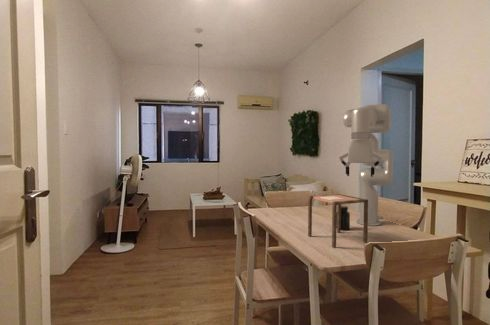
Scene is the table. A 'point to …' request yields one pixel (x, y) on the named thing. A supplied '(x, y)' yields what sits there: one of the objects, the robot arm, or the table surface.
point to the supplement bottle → (344, 218)
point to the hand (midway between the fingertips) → (359, 176)
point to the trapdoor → (334, 198)
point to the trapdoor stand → (339, 217)
